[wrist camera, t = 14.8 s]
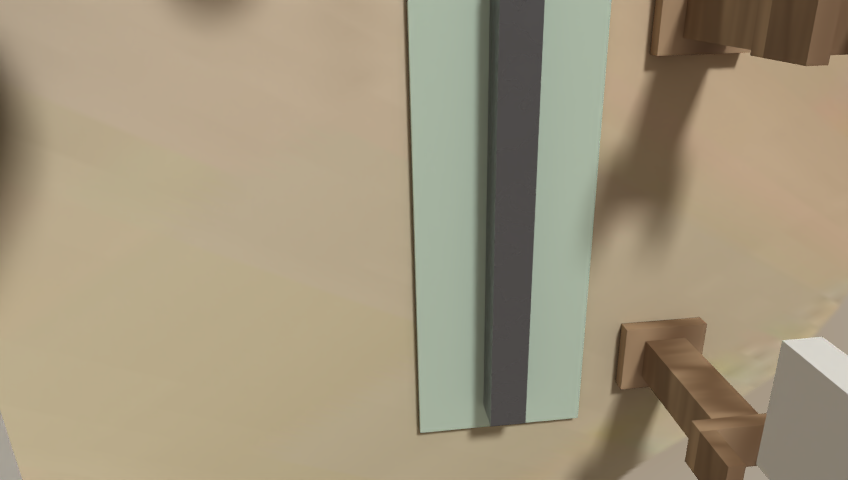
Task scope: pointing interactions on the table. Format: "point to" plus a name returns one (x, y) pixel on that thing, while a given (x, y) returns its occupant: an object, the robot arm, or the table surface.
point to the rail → (511, 202)
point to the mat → (467, 199)
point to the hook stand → (684, 338)
